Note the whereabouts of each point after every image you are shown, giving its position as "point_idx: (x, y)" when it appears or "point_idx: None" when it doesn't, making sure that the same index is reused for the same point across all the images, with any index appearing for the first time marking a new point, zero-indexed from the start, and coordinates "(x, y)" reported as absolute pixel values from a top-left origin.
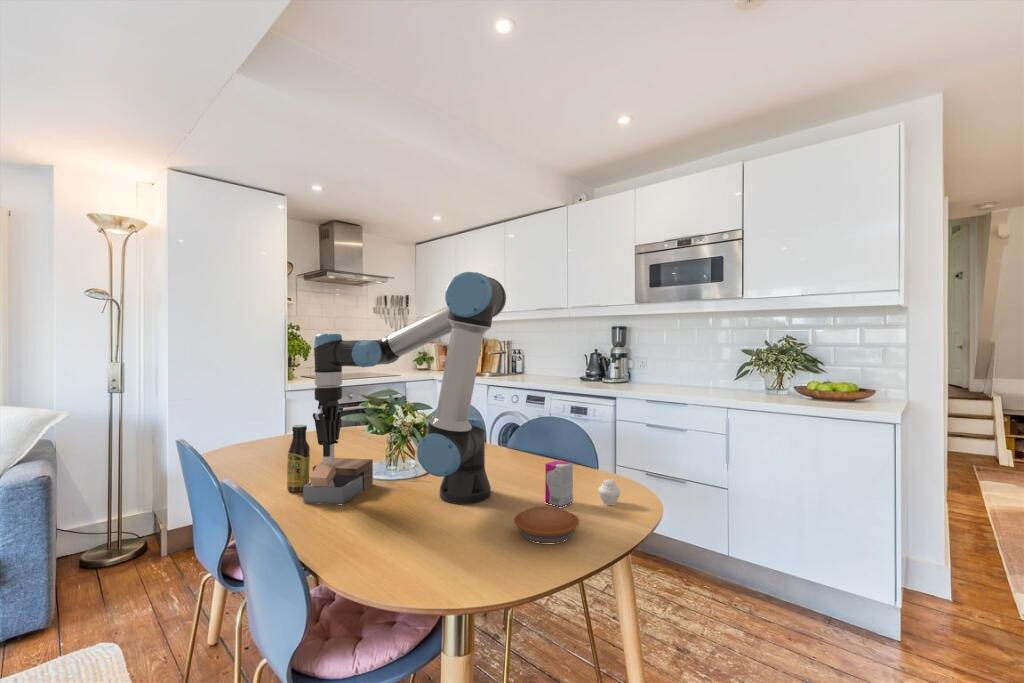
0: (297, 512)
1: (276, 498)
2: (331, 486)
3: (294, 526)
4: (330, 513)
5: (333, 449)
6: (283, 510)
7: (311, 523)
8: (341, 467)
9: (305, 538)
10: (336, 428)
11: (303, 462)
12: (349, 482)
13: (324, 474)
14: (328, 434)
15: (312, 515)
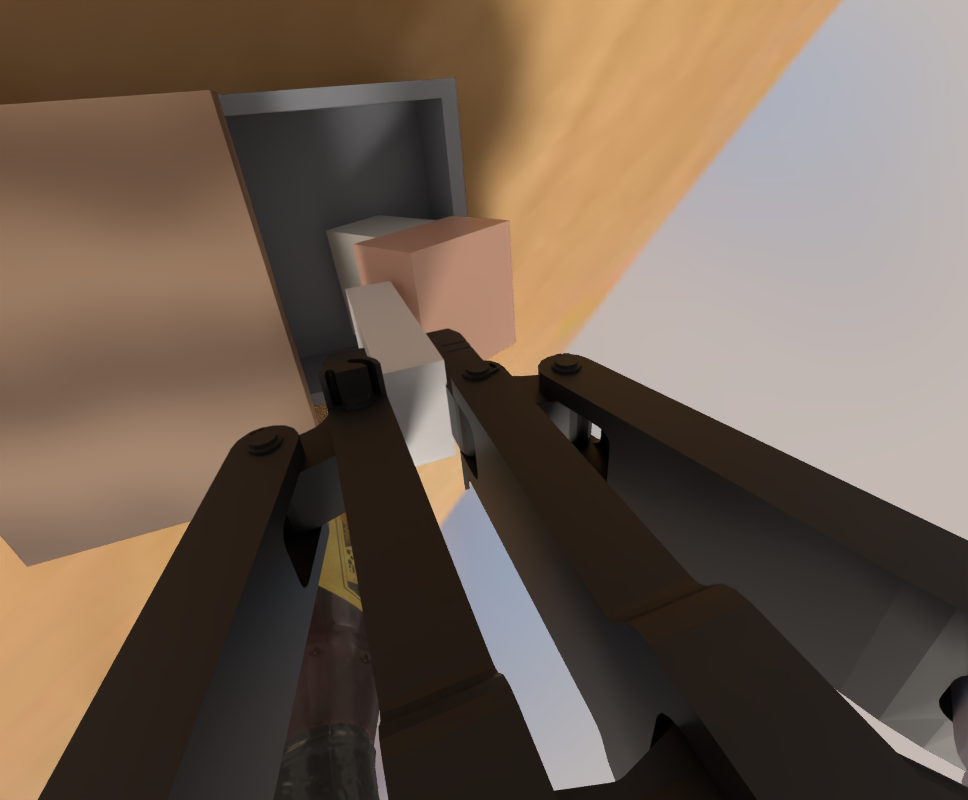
0: (558, 265)
1: (434, 475)
2: (396, 227)
3: (694, 156)
4: (548, 79)
5: (388, 345)
6: (546, 341)
7: (666, 96)
8: (244, 277)
9: (806, 2)
10: (266, 580)
11: (330, 563)
12: (319, 107)
13: (487, 257)
14: (560, 440)
15: (582, 164)
